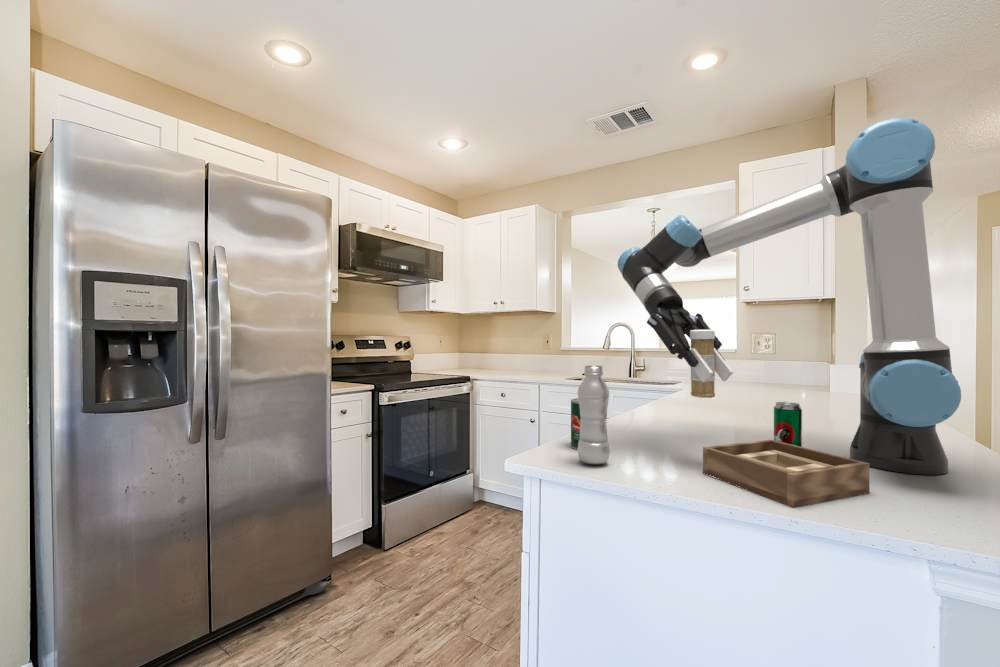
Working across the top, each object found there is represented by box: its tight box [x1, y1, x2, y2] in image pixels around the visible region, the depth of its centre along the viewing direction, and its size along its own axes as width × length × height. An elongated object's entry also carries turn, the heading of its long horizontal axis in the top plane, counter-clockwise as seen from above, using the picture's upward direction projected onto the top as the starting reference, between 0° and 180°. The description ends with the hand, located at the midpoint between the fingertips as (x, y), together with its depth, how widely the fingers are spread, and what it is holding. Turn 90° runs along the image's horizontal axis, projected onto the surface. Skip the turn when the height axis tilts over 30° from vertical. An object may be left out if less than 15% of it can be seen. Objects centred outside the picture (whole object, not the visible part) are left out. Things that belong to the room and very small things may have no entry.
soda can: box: [773, 401, 803, 447], centre depth 96 cm, size 5×5×12 cm
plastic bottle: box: [577, 365, 611, 465], centre depth 93 cm, size 6×7×20 cm
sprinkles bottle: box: [689, 329, 716, 399], centre depth 91 cm, size 5×5×14 cm
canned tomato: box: [570, 397, 581, 450], centre depth 106 cm, size 8×8×11 cm
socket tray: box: [702, 439, 870, 508], centre depth 81 cm, size 18×18×5 cm
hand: (718, 377), depth 87 cm, fingers closed on sprinkles bottle, 4 cm apart
